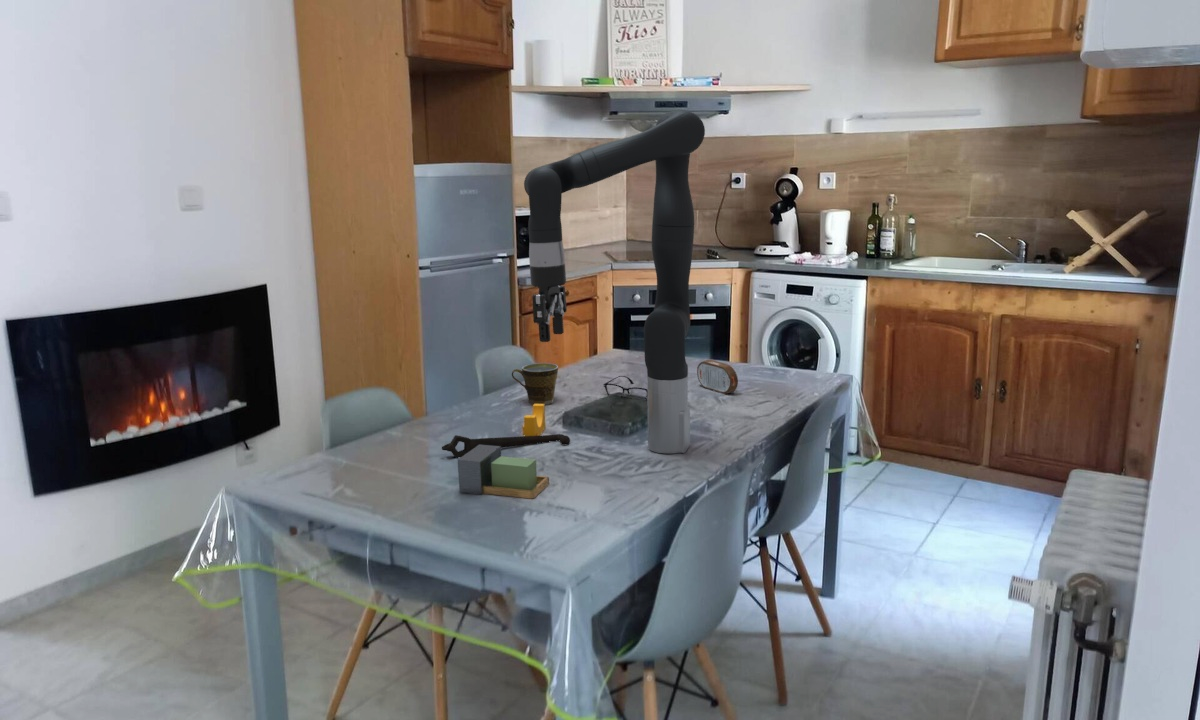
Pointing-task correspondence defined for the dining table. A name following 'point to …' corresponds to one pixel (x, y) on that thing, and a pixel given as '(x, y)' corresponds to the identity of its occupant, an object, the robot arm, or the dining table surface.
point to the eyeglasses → (622, 387)
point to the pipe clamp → (535, 421)
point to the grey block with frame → (489, 474)
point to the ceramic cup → (539, 382)
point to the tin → (717, 376)
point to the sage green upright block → (514, 473)
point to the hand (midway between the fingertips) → (552, 337)
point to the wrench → (500, 442)
